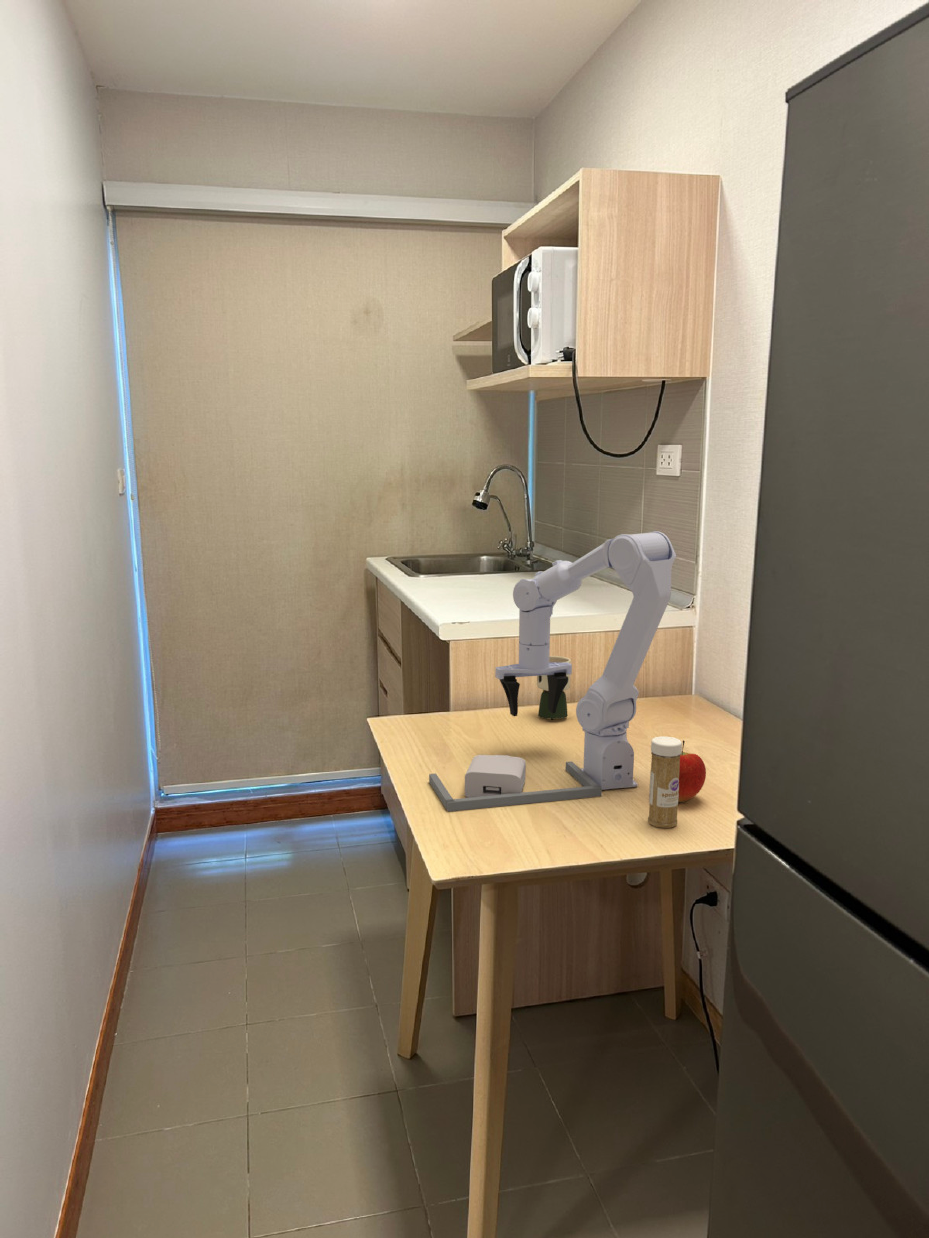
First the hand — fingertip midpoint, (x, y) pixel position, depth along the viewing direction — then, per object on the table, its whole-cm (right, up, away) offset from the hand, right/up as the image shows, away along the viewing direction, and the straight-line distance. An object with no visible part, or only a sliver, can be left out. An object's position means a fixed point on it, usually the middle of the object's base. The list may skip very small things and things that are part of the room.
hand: (533, 713), depth 168 cm
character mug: (+6, -4, +24) cm, 25 cm away
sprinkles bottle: (+18, -14, -30) cm, 37 cm away
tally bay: (-5, -11, -15) cm, 20 cm away
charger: (-7, -11, -14) cm, 19 cm away
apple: (+22, -12, -20) cm, 33 cm away
